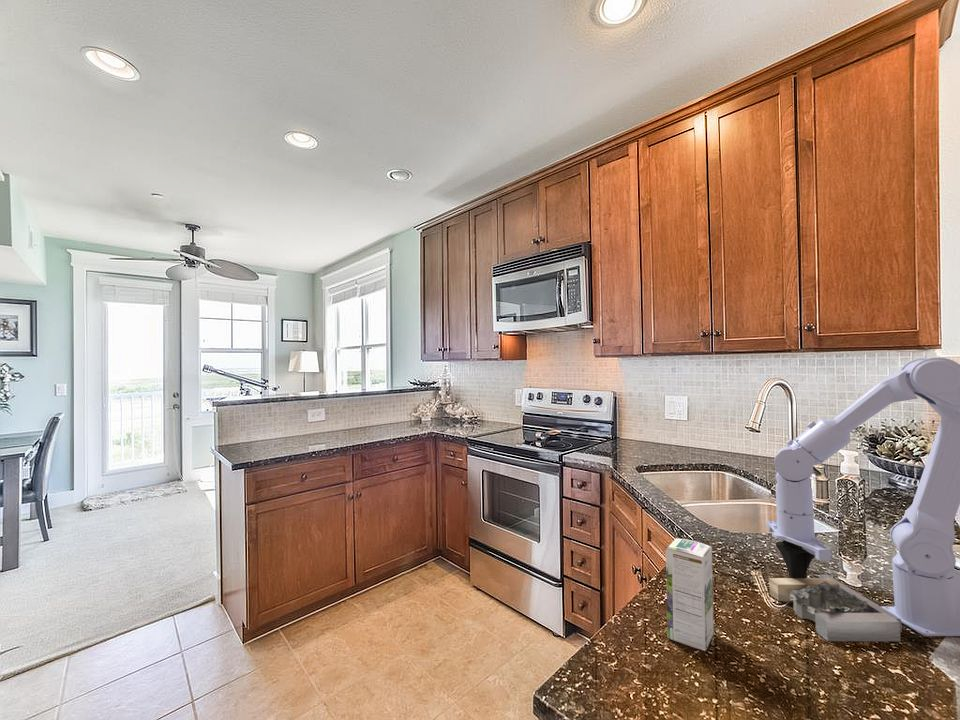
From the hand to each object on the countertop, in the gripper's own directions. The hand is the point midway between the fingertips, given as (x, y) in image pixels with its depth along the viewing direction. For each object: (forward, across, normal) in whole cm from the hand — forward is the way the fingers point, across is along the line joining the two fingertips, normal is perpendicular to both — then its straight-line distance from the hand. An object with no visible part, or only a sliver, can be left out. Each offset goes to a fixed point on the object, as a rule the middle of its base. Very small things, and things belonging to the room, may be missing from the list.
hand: (797, 582), depth 81 cm
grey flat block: (+2, +6, +1) cm, 6 cm away
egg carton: (+2, +7, 0) cm, 8 cm away
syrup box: (+2, +14, -26) cm, 29 cm away
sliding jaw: (+2, +2, 0) cm, 3 cm away
